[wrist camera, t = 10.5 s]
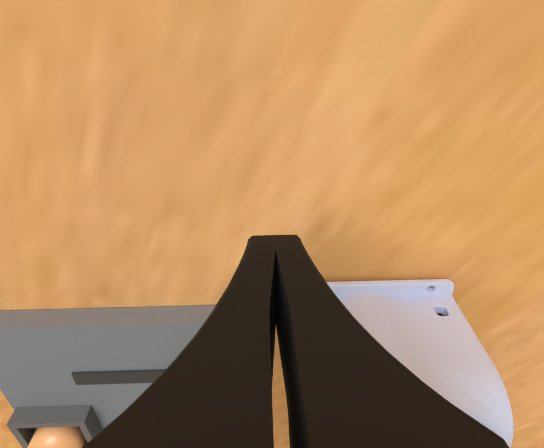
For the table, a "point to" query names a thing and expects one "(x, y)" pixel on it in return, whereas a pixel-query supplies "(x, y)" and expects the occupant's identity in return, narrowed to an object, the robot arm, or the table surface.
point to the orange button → (57, 437)
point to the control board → (86, 362)
